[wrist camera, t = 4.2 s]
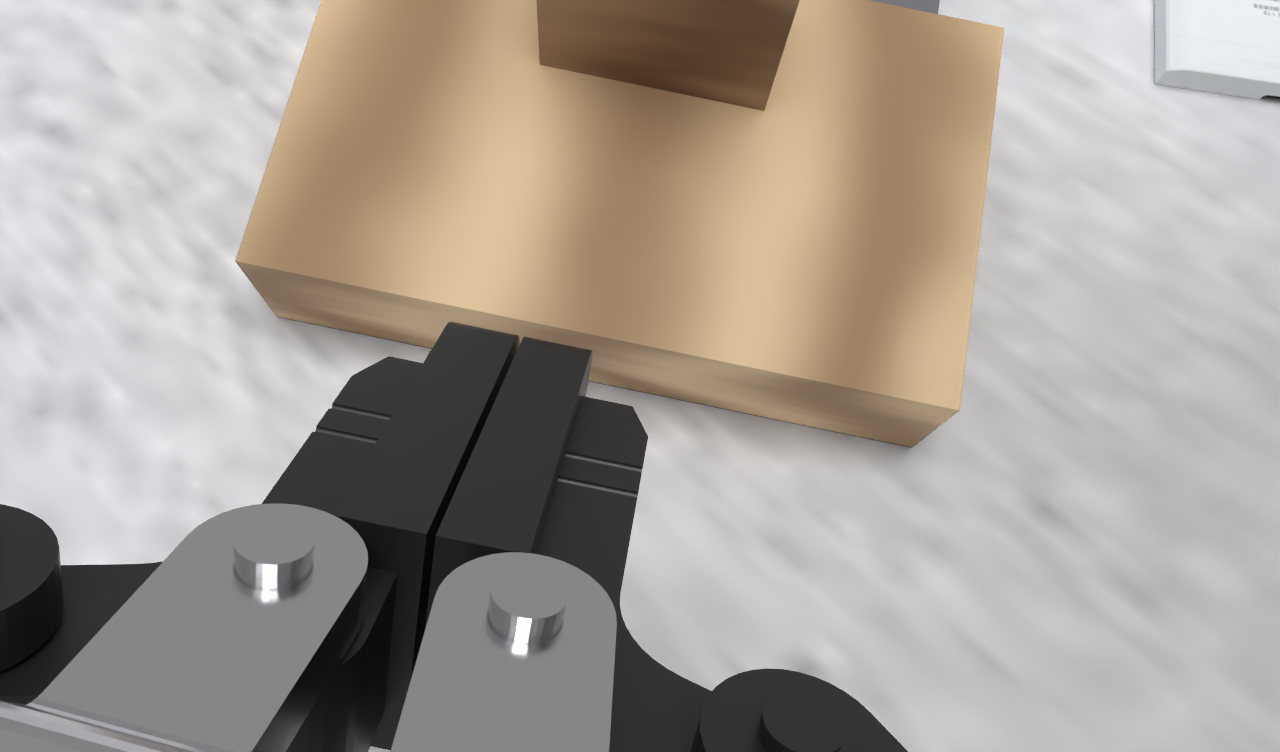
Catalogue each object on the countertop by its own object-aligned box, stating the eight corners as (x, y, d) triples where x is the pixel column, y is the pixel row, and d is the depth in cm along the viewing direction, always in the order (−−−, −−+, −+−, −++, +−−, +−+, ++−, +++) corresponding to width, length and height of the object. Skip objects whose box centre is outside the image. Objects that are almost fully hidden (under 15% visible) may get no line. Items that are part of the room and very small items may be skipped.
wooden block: (955, 104, 34) (1004, 28, 30) (911, 447, 31) (959, 410, 27) (380, -15, 34) (356, -106, 30) (276, 316, 31) (234, 261, 27)
